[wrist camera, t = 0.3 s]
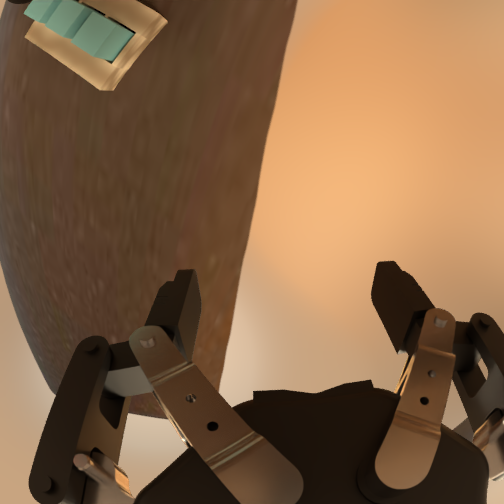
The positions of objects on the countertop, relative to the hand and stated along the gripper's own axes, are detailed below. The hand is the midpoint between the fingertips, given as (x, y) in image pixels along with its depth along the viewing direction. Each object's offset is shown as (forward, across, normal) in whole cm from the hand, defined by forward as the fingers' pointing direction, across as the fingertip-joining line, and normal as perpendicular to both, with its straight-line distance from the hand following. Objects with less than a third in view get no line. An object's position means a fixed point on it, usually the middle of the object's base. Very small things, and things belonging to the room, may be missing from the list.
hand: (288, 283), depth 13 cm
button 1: (+26, +27, -27) cm, 46 cm away
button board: (+28, +22, -23) cm, 43 cm away
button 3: (+26, +18, -19) cm, 37 cm away
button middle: (+26, +22, -23) cm, 41 cm away
